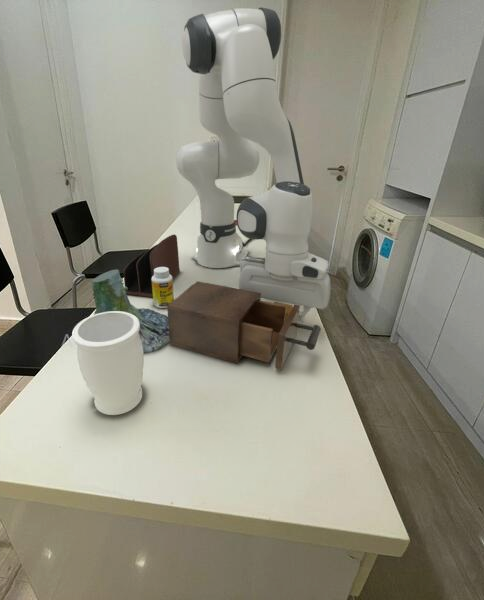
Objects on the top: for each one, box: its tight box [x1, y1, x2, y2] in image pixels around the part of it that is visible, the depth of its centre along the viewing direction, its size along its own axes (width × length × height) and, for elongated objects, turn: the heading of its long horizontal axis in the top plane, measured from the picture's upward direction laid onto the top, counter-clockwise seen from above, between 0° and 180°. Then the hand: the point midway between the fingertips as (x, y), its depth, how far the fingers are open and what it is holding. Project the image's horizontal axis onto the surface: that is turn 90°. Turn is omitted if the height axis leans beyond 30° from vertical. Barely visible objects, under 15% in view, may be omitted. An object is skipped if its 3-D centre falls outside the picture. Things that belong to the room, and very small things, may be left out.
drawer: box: [239, 300, 322, 371], centre depth 68 cm, size 20×13×8 cm, turn 62°
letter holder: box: [122, 234, 181, 298], centre depth 100 cm, size 10×20×14 cm, turn 162°
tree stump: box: [91, 269, 170, 354], centre depth 75 cm, size 18×20×18 cm
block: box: [273, 301, 294, 321], centre depth 78 cm, size 4×4×4 cm
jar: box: [71, 311, 145, 416], centre depth 55 cm, size 11×10×15 cm
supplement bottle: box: [151, 267, 175, 309], centre depth 88 cm, size 6×6×10 cm
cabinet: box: [166, 280, 262, 364], centre depth 73 cm, size 16×14×10 cm
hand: (279, 316), depth 78 cm, fingers open, 8 cm apart
